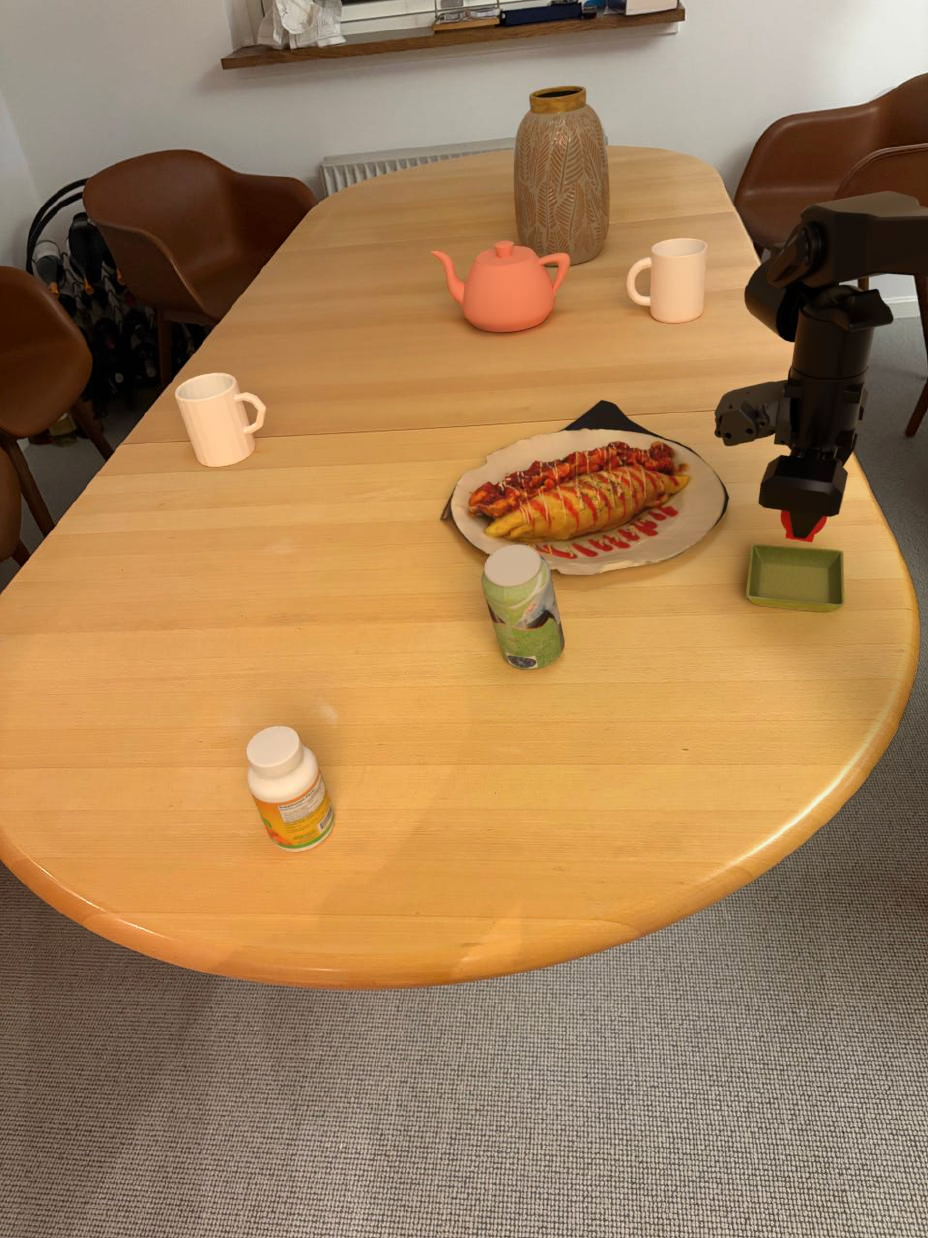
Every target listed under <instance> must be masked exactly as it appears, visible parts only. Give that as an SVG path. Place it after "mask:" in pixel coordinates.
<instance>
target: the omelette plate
mask: <svg viewBox="0 0 928 1238" xmlns="http://www.w3.org/2000/svg"><path fill="white" fill-rule="evenodd" d="M485 460H486V461H487V463H485V464H483V465H482V466H480V467H478V468H474V469H470V470H467V471H465V472H464V474H462V475H461V477H460V478H459V479H458V481H457V483H456V484H455V486H454V488H453V490H452V491H451V495H450V496H449V498H448V500H447V502H446V504H445V506H444V509H443V510H442V513H441V515H440V518H439V520H444V519H447V518H448V517H450V516H451V518H452V521H453V523H454V525H455V527H456V529H457V530H458V531H459V533H460V534H461V535H462V537H464V539H465V540H466V541H467V542H468V543H469V544H470V545H471V546H472V547H474V548H476V549H478V550H481V551H482V552H483V553H484V554H487V555H489V556H490V555H491V554H493V553H494V552H495V551H497V550H498V549H501V548H503V547H506V546H510V545H526V546H529V547H531V548H533V549H535V550H536V551H537V552H538V553H539V555H540V556H541V557H543V558H544V559H545V561H546V562H547V564H548V566H549V568H550V571H551V570H552V571H553V570H557V571H558V572H559V573H560V574H561V575H567V576H568V575H569V576H594V575H597V574H602V573H604V572H608V571H614V570H621V569H626V568H633V567H639V566H646V565H647V566H648V565H652V564H657V563H658V564H659V563H661V562H664V561H667V560H669V559H670V560H671V559H674V558H676V557H678V556H680V555H682V554H683V553H684V552H685V551H687V550H688V549H689V548H691V547H693V546H694V545H697V544H698V543H700V542H701V541H702V539H704V537H706V535H708V533H710V531H711V530H713V529H714V528H715V527H716V526H717V525H718V523H719V522H720V521H721V520H722V518H723V516H725V513H726V512H727V509H728V505H729V500H730V496H729V493H728V490H727V487H726V486H725V484H724V483H723V481H722V479H721V478H720V476H719V475H718V473H717V472H716V471H715V470H714V469H713V467H712V466H711V465H710V464H709V463H708V462H706V460H705V459H704V458H703V457H701V456H700V455H699V454H698V453H697V452H696V451H695V450H694V449H692V448H691V447H689V446H687V445H685V444H682V443H681V442H679V441H676V440H672V439H669V438H666V437H664V436H661V435H659V434H657V433H654V432H652V431H650V430H648V429H647V428H645V427H643V426H641V425H640V424H638V423H637V422H635V421H633V420H632V419H630V418H629V417H628V416H627V415H626V414H625V413H624V412H623V411H622V410H621V408H620V407H619V406H618V405H617V404H616V403H614V402H611V401H608V400H605V399H600V400H599V401H598V402H597V403H595V404H594V405H593V406H592V407H591V408H590V409H589V410H587V411H586V412H584V413H583V414H582V415H580V416H579V417H578V418H577V419H575V420H574V421H572V422H571V423H569V424H568V425H567V426H565V427H564V428H562V429H560V430H558V431H556V432H549V433H543V434H537V435H534V436H532V437H530V438H526V437H525V438H521V439H519V440H517V441H515V442H512V443H511V444H508V445H506V446H504V447H501V448H499V449H497V450H495V451H493V452H491V453H488V454H487V455H486V456H485Z"/></svg>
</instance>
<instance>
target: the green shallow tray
mask: <svg viewBox="0 0 928 1238" xmlns="http://www.w3.org/2000/svg"><path fill="white" fill-rule="evenodd" d="M844 563H845V562H844V552H843V550H840V549H839V550H838V549H827V548H817V547H816V548H815V547H801V546H787V545H777V544H776V545H775V544H765V543H764V544H763V543H752V544H751V545H750V549H749V558H748V570H747V579H746V589H745V596H746V598H747V599H748V601H750V602H752V603H753V604H754V605H757V606H759V607H763V608H764V607H766V608H776V609H777V608H778V609H785V610H788V609H789V610H799V611H808V612H809V611H810V612H816V613H817V612H818V613H829V612H834V611H836V610H837V611H838V610H839V609H841V608H843V607H844V606H845V600H846V599H845V598H846V597H845V570H844V569H845V567H844V566H845V565H844Z"/></svg>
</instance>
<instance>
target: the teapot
mask: <svg viewBox="0 0 928 1238" xmlns="http://www.w3.org/2000/svg"><path fill="white" fill-rule="evenodd" d="M514 244H515V243H514V241H511V240H500V241H497V242H495V243H494V244H493V248H489V249H486V250H484V251H482V252H480V253H479V254H478V255H477V256H476V257H475V259H474V261H473V263H472V265H471V267H470V270H469V272H468V274H467V277H466V279H465V282H464V281H462V280H461V279H459V276H458V275H457V273H456V268H455V264H454V261H453V259H452V258H451V256H450V255H449V254H447V253H446V252H442V251H438V250H430V251H429V252H430V254H432V255H434V256H435V257H436V258H437V259H438V260H439V261H440V263H441V264H442V266H443V271H444V274H445V281H446V286H447V290H448V293H449V295H450V296H451V298H452V299H453V300H454V301H455V303H457V304H459V305H460V306H462V313H463V315H464V318H465V319H466V320H467V321H468V322H469V323H470V324H472V325H473V327H475V328H476V329H479V330H480V331H485V332H489V333H490V332H492V333H509V332H511V333H512V332H518V331H524V330H527V329H530V328H534V327H536V326H538V325H540V324H542V323H543V322H544V321H545V320H547V317H548V316H549V315H550V314H551V312H552V311H553V310H554V309H553V308H554V307H555V303H556V293H557V292H558V291H559V289H560V287H561V286H562V284H563V282H564V280H565V278H566V276H567V275H568V272H569V270H570V266H571V265H570V257H569V255H568V254H566V253H555V254H551V255H547V256H544V257H542V258H539V257H538V256H537V255H536V253H535V252H534V251H533V250H532V249H530V248H528V247H523V246H521V245H514ZM551 262H556V263H557V264H558V266H557V272H556V276H555V278H554V279H555V280H554V282H553V281H552V278H551V275H550V273H549V271H548V270H547V268H546V266H544V264H547V263H551Z"/></svg>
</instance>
